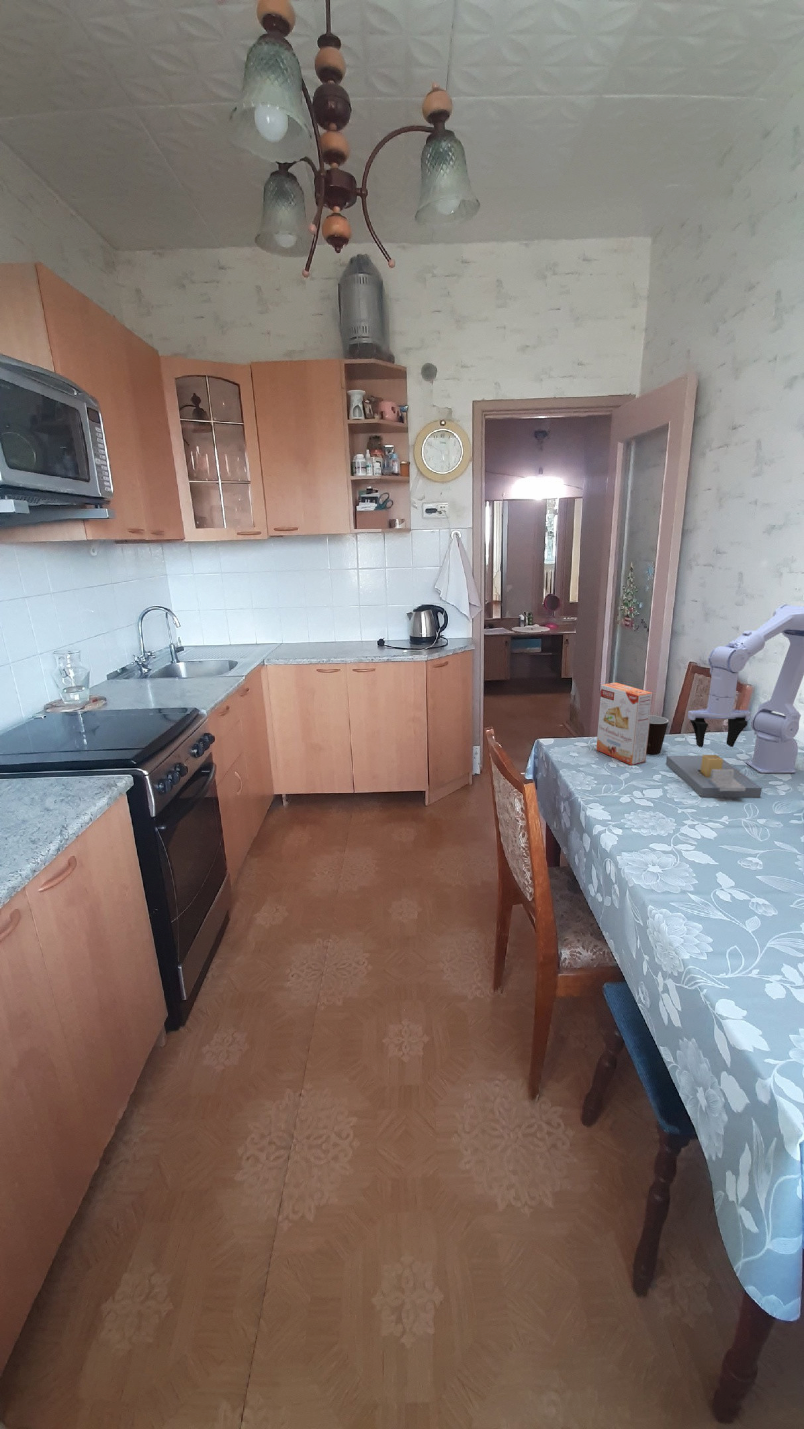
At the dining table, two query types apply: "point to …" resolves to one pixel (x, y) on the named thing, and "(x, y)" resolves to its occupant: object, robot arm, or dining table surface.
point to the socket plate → (699, 783)
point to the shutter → (725, 780)
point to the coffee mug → (656, 734)
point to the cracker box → (624, 722)
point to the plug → (710, 764)
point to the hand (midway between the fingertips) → (714, 745)
